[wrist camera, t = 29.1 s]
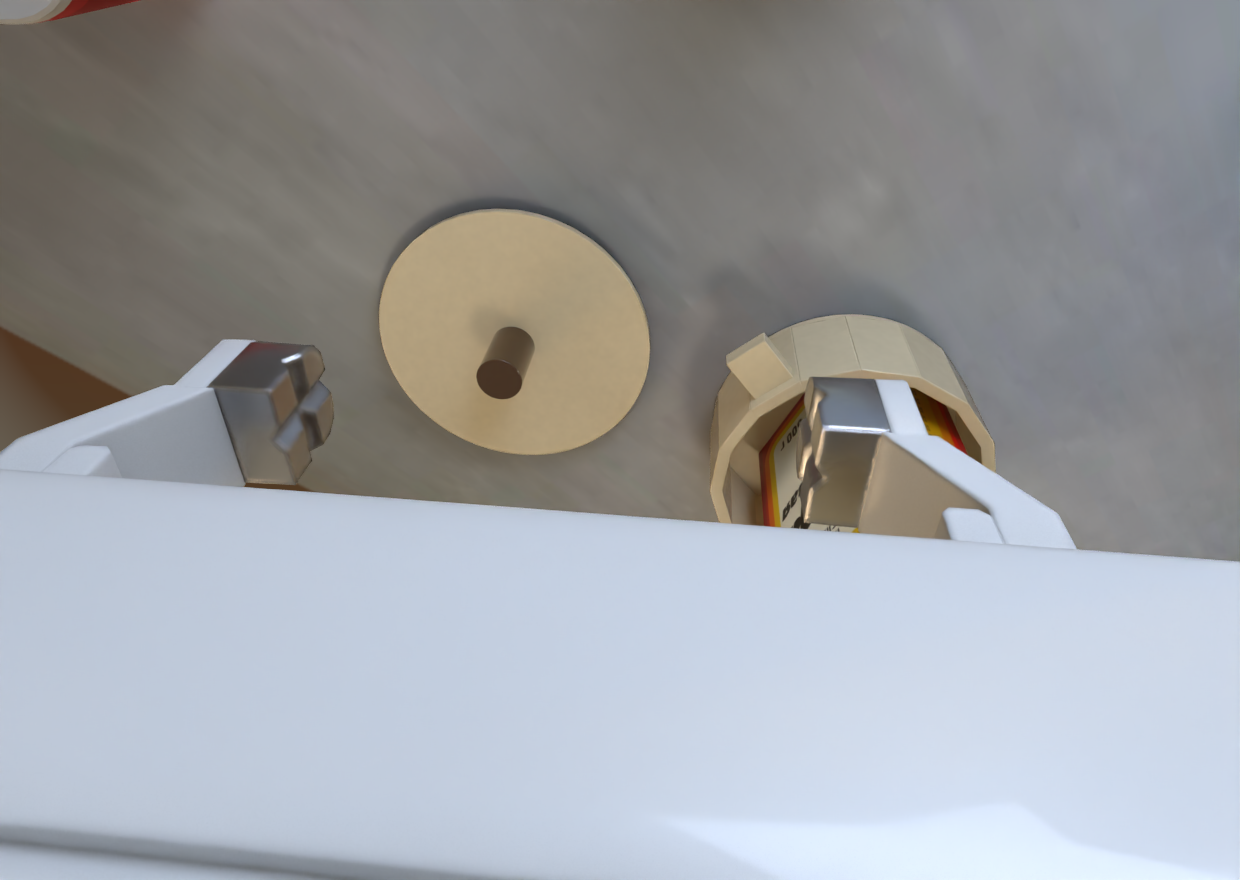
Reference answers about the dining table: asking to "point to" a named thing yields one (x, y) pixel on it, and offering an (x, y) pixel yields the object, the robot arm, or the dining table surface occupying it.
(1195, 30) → the dining table surface
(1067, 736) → the robot arm
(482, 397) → the pan lid
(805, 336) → the pan
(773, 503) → the baking soda box
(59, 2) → the canned food
